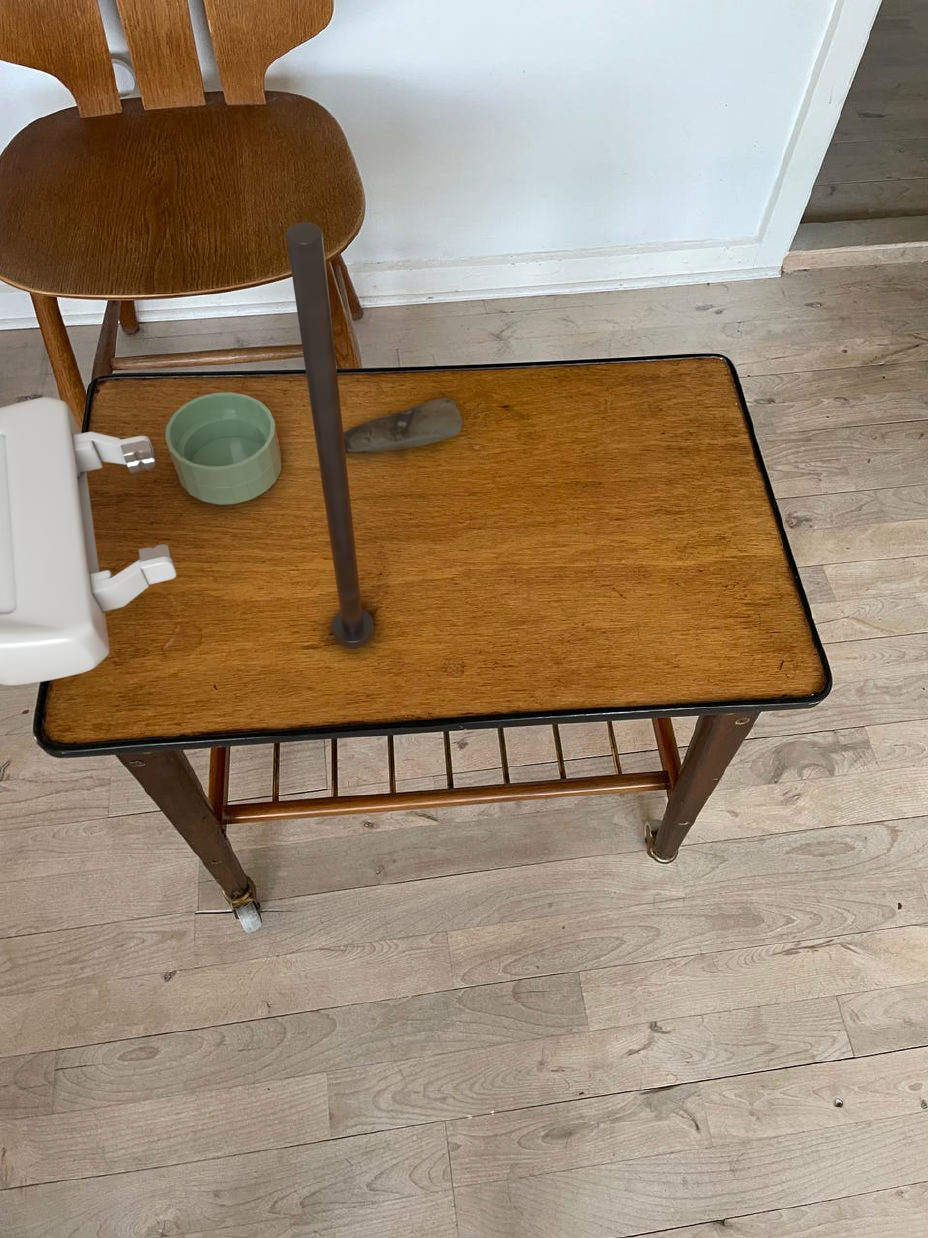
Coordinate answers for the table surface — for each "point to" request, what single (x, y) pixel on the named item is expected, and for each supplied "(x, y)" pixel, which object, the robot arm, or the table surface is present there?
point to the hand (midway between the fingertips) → (162, 503)
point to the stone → (406, 428)
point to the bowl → (224, 447)
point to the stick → (328, 425)
